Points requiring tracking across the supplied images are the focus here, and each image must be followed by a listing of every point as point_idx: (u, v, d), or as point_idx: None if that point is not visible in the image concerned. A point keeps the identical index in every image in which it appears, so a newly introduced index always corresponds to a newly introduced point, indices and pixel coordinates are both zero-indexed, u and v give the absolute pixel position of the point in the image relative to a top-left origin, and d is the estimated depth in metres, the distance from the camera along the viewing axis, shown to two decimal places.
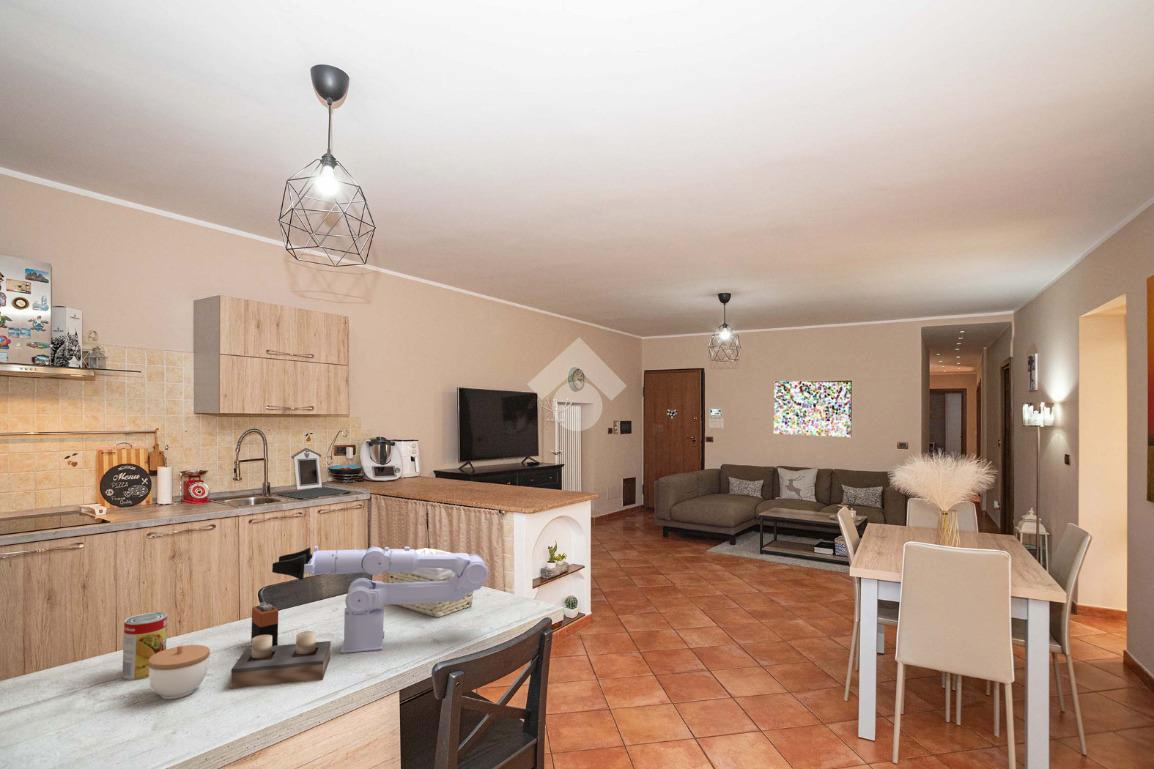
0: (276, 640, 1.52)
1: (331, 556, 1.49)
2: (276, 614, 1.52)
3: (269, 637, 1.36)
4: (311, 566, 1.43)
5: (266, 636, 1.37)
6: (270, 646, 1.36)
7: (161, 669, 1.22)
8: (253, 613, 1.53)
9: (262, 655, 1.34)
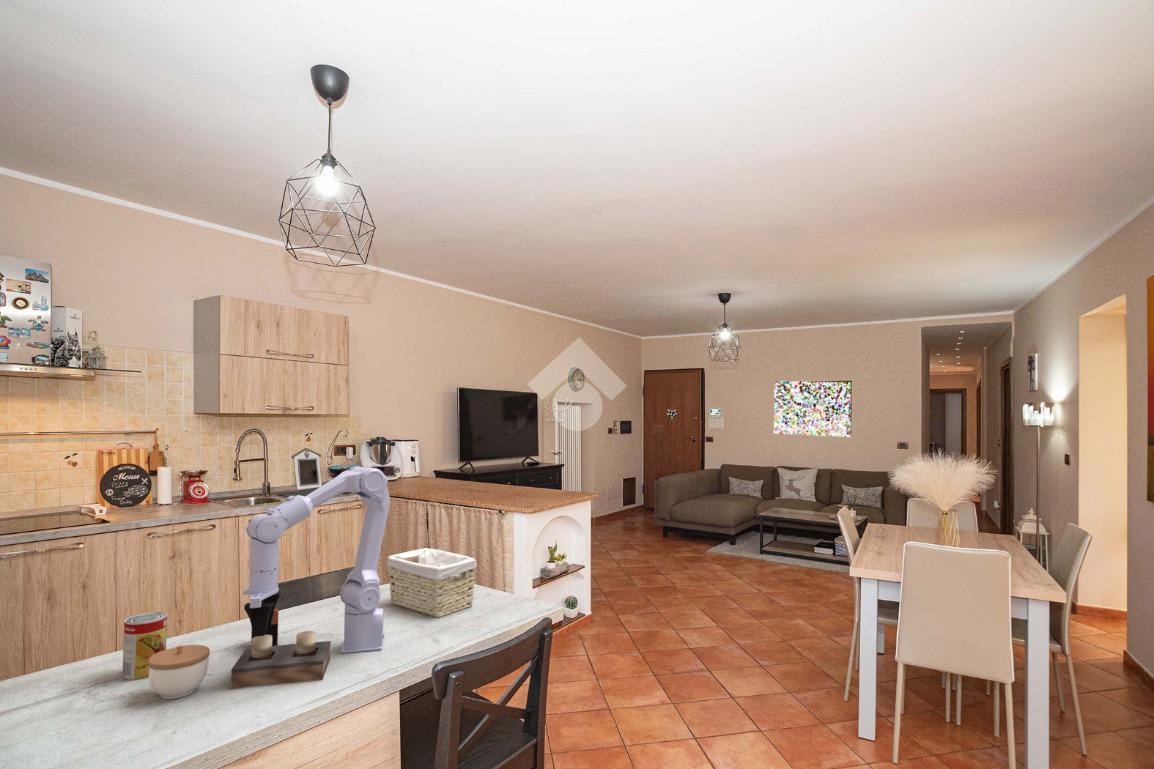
0: (276, 640, 1.52)
1: (252, 576, 1.34)
2: (276, 614, 1.52)
3: (269, 637, 1.36)
4: (251, 600, 1.29)
5: (266, 636, 1.37)
6: (270, 646, 1.36)
7: (161, 669, 1.22)
8: None
9: (262, 655, 1.34)
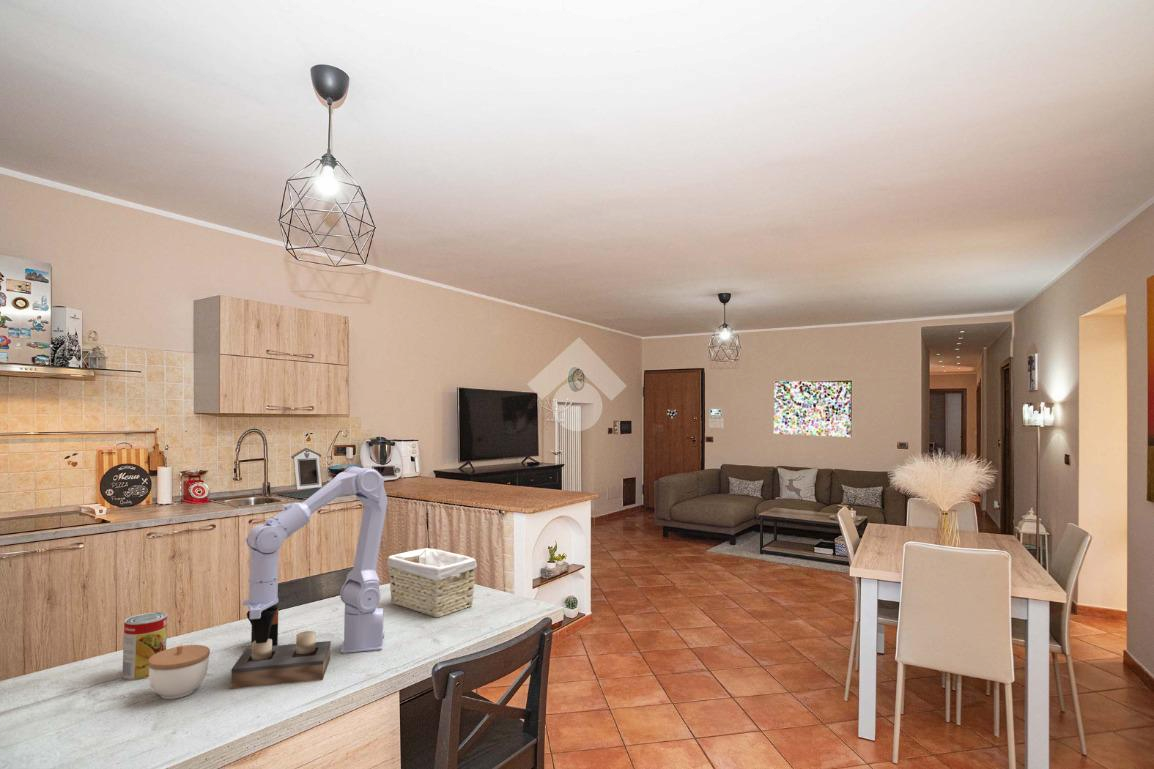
0: (276, 640, 1.52)
1: (252, 587, 1.34)
2: (276, 614, 1.52)
3: (269, 641, 1.36)
4: (251, 611, 1.29)
5: None
6: (270, 650, 1.35)
7: (161, 669, 1.22)
8: None
9: (262, 659, 1.34)
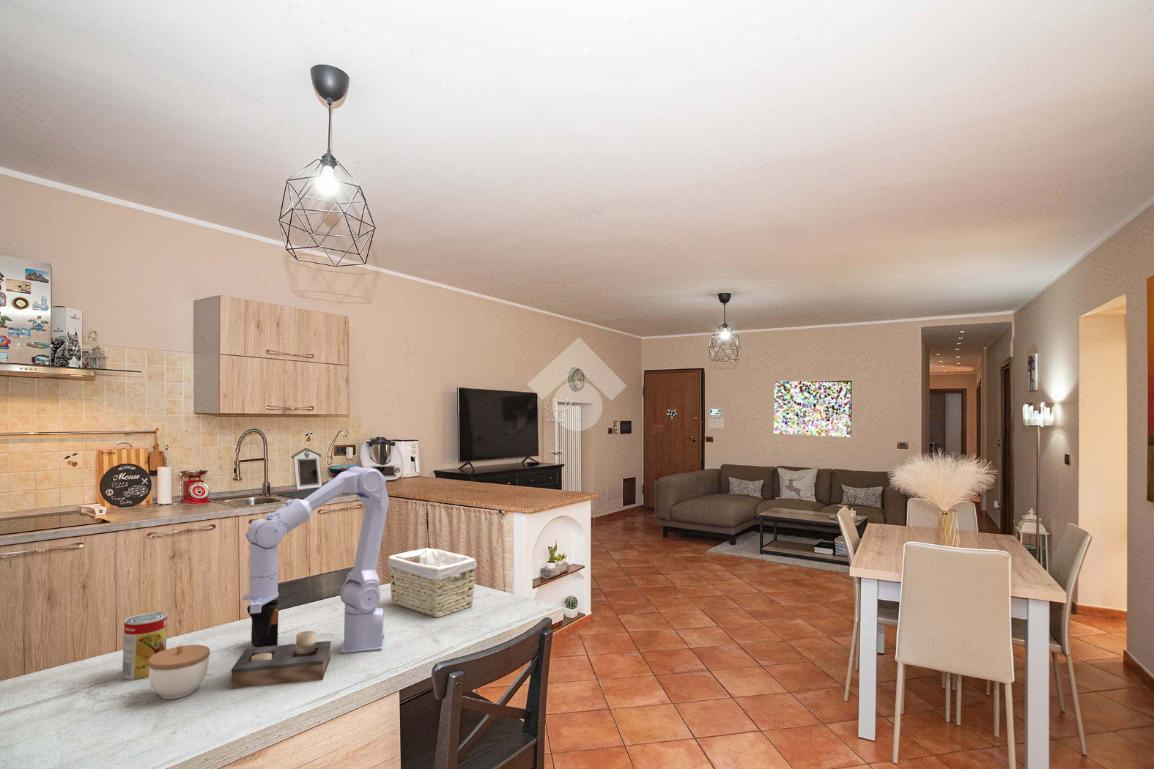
0: (276, 640, 1.52)
1: (252, 581, 1.34)
2: (276, 614, 1.52)
3: (269, 655, 1.36)
4: (251, 606, 1.29)
5: (266, 654, 1.36)
6: None
7: (161, 669, 1.22)
8: None
9: None
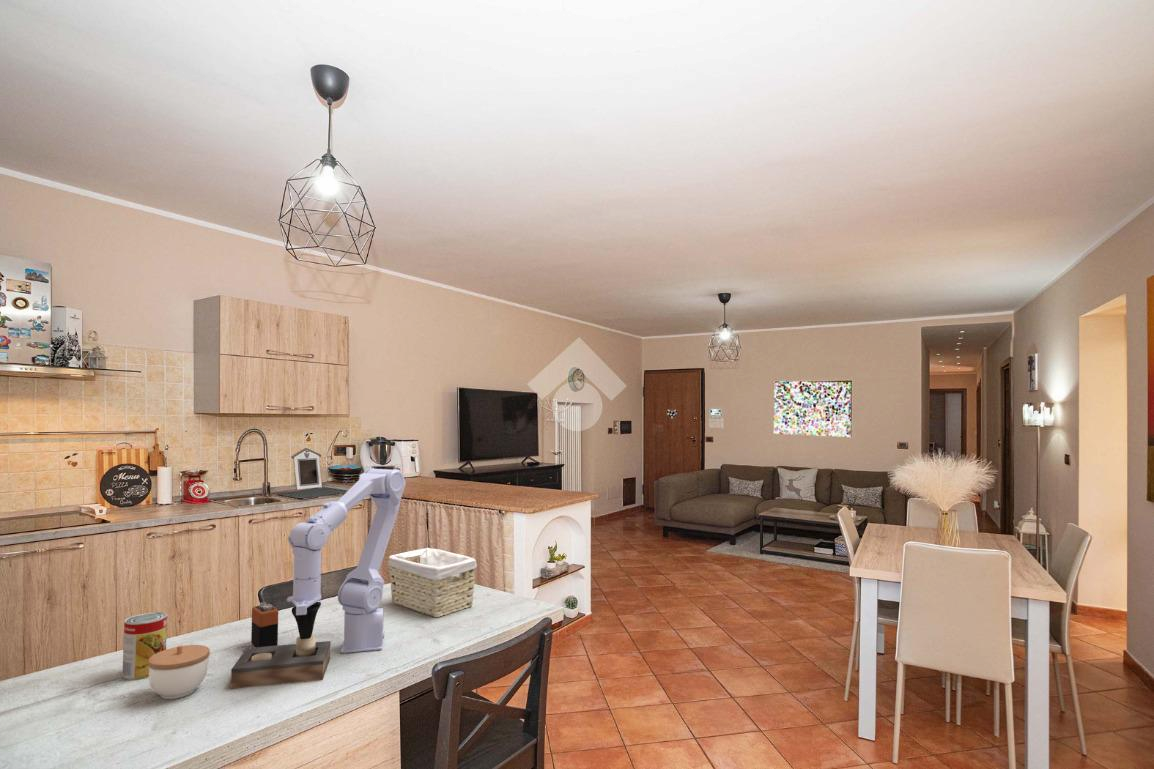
0: (276, 640, 1.52)
1: (296, 583, 1.36)
2: (276, 614, 1.52)
3: (269, 655, 1.36)
4: (297, 607, 1.31)
5: (266, 654, 1.36)
6: None
7: (161, 669, 1.22)
8: (253, 613, 1.53)
9: None
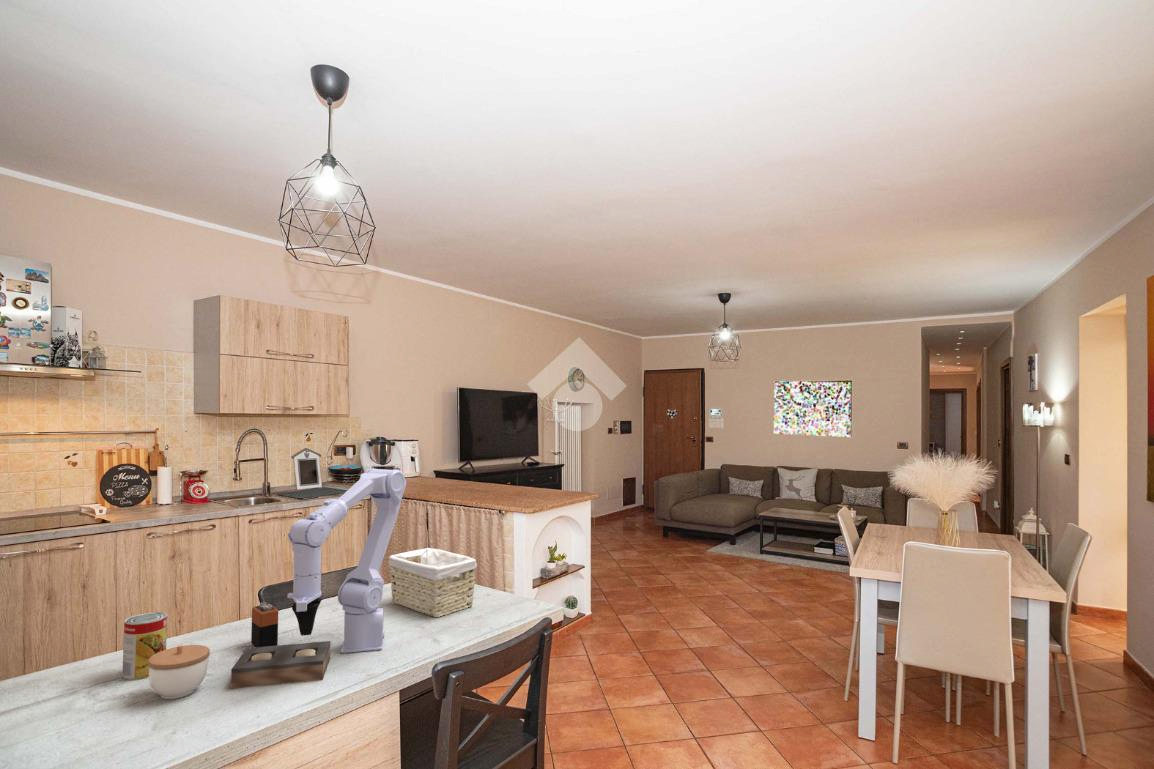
0: (276, 640, 1.52)
1: (297, 580, 1.36)
2: (276, 614, 1.52)
3: (269, 655, 1.36)
4: (298, 604, 1.31)
5: (266, 654, 1.36)
6: None
7: (161, 669, 1.22)
8: (253, 613, 1.53)
9: None
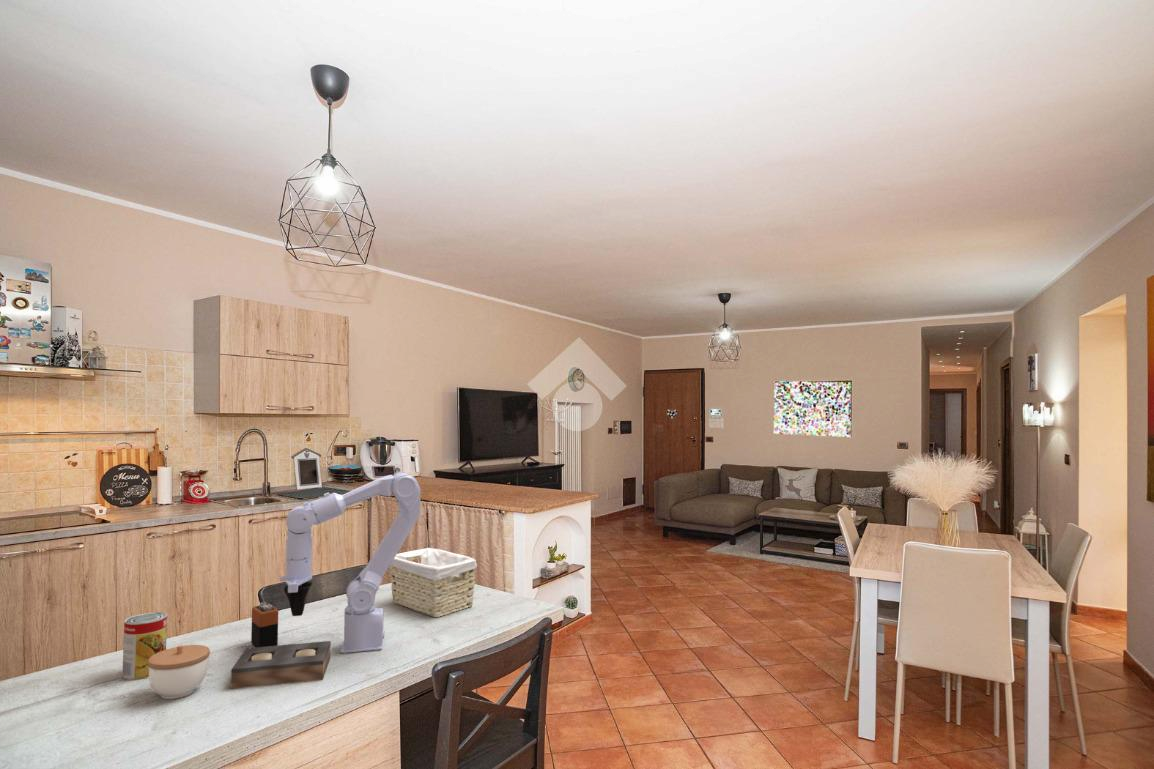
0: (276, 640, 1.52)
1: (289, 564, 1.45)
2: (276, 614, 1.52)
3: (269, 655, 1.36)
4: (289, 585, 1.40)
5: (266, 654, 1.36)
6: None
7: (161, 669, 1.22)
8: (253, 613, 1.53)
9: None
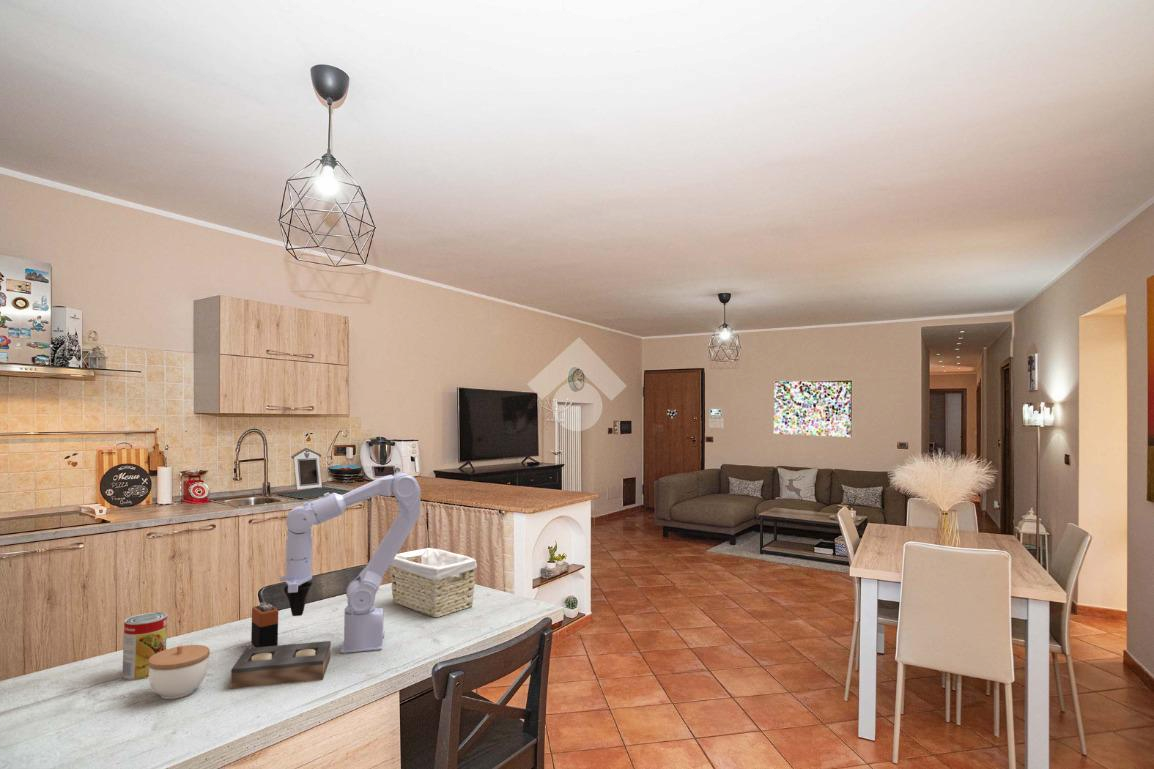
0: (276, 640, 1.52)
1: (289, 564, 1.45)
2: (276, 614, 1.52)
3: (269, 655, 1.36)
4: (289, 585, 1.40)
5: (266, 654, 1.36)
6: None
7: (161, 669, 1.22)
8: (253, 613, 1.53)
9: None
